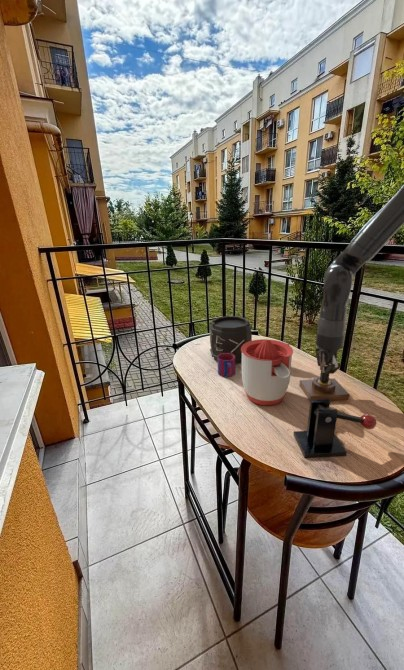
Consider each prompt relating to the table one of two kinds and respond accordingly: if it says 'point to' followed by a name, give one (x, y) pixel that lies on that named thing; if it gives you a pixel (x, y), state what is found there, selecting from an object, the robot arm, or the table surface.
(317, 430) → the black bracket
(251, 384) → the citrus juicer
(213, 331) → the dark grey cylinder
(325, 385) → the button
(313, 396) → the block
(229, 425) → the table surface
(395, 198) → the robot arm
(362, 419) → the red-knob lever
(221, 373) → the mug
